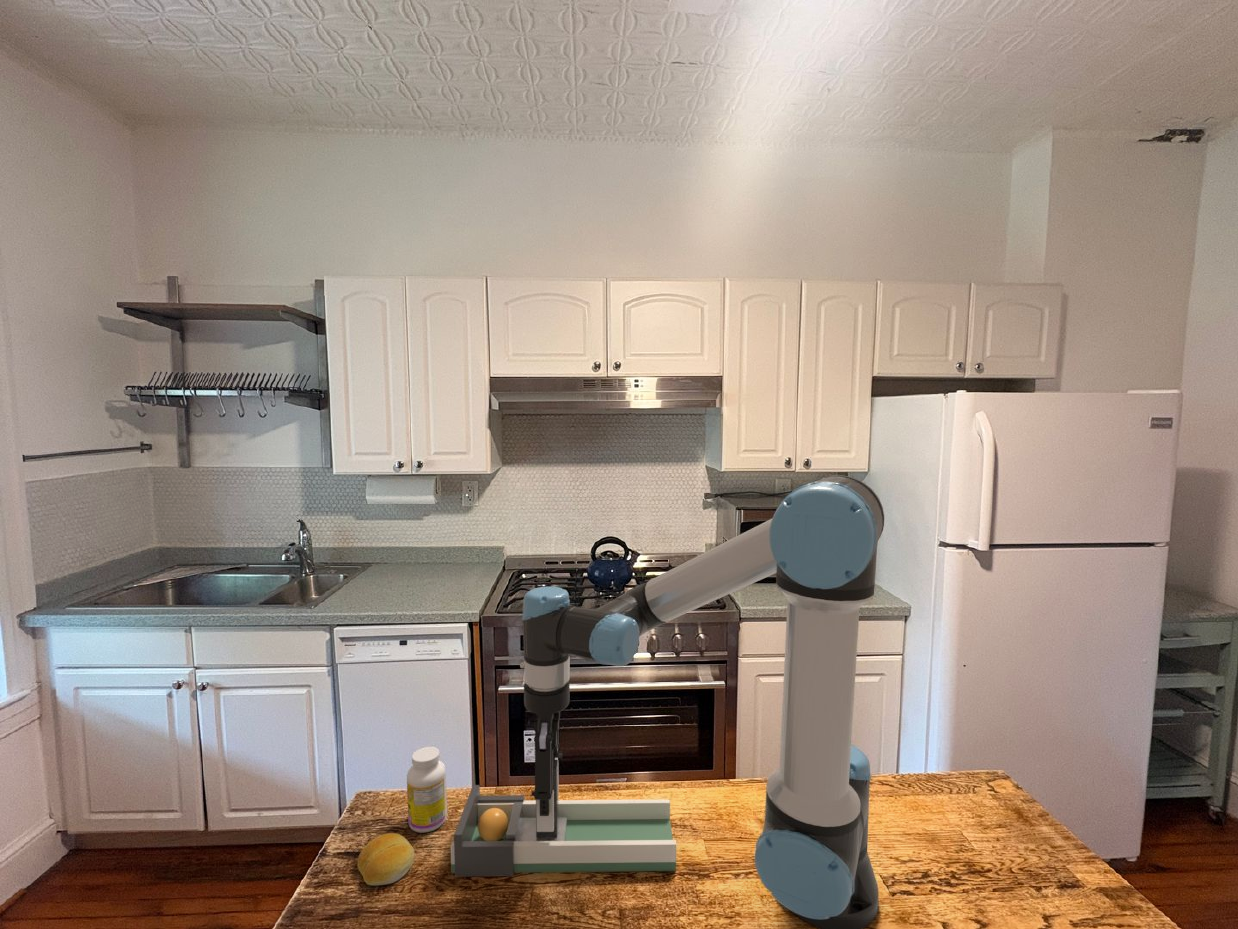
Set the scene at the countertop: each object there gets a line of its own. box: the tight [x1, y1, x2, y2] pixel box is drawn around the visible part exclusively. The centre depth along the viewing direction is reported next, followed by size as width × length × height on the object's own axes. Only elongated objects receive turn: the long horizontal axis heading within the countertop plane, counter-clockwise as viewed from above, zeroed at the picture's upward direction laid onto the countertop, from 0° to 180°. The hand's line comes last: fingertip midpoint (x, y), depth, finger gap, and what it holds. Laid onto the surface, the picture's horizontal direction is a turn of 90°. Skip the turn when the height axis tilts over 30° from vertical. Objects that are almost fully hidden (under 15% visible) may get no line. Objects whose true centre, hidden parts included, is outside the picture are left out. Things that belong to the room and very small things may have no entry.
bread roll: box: [357, 832, 415, 887], centre depth 94 cm, size 8×9×4 cm
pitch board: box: [450, 798, 677, 874], centre depth 98 cm, size 36×11×4 cm, turn 91°
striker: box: [506, 759, 567, 841], centre depth 98 cm, size 9×8×13 cm
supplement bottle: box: [406, 746, 448, 834], centre depth 104 cm, size 7×7×13 cm
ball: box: [478, 808, 508, 841], centre depth 98 cm, size 5×5×5 cm
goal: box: [453, 784, 526, 878], centre depth 98 cm, size 9×12×7 cm
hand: (548, 812), depth 98 cm, fingers open, 8 cm apart
